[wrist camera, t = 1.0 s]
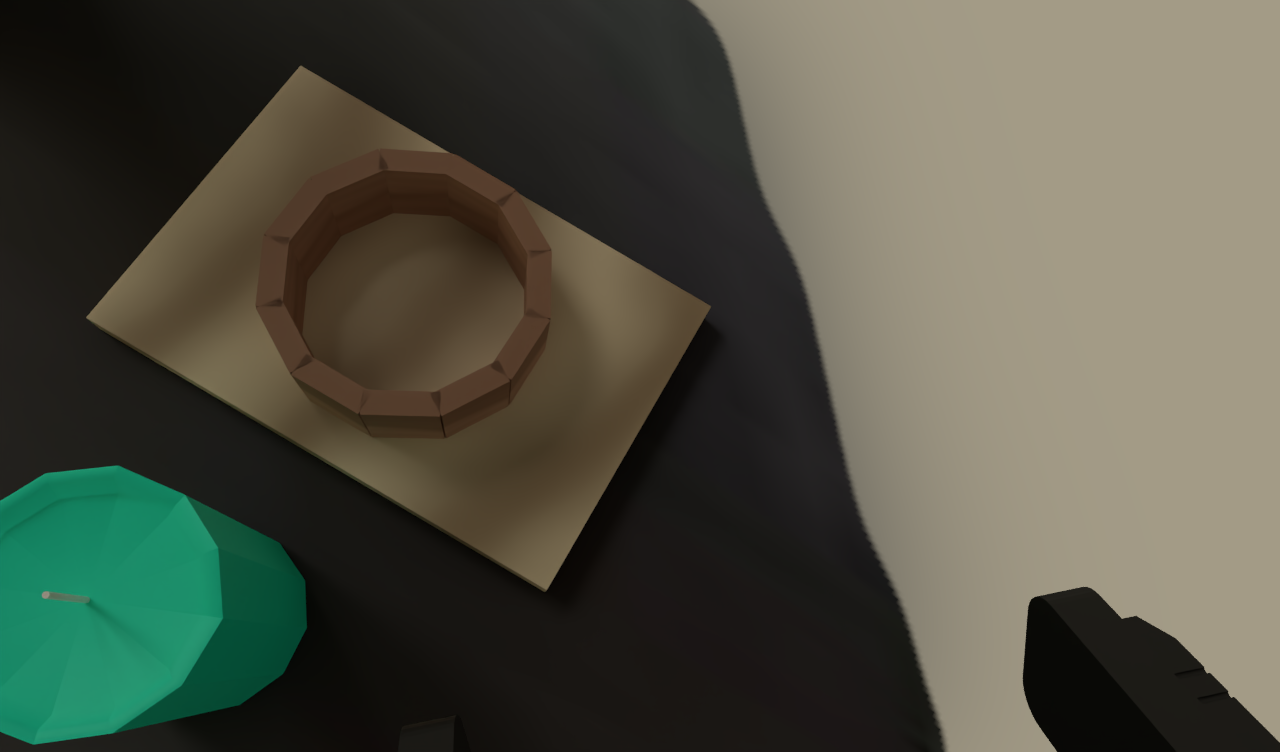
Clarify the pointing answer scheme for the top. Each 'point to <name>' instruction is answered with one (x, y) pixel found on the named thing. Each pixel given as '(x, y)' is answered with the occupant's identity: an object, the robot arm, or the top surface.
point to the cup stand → (408, 323)
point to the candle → (134, 606)
